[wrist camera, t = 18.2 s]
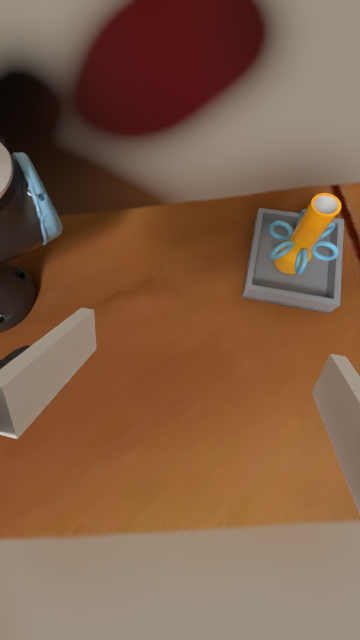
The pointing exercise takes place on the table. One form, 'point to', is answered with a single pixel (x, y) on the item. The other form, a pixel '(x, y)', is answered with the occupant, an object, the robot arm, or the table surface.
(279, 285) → the tray
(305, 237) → the cylinder
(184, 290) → the table surface
